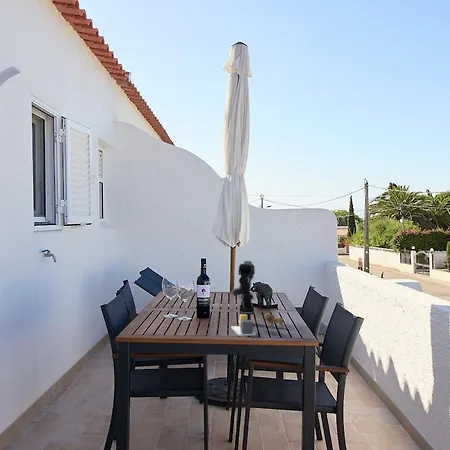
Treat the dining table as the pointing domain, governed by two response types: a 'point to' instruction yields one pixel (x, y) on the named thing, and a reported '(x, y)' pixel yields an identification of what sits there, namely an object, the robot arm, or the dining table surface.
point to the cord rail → (238, 330)
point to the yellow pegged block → (242, 318)
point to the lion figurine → (274, 320)
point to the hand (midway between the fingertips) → (244, 308)
